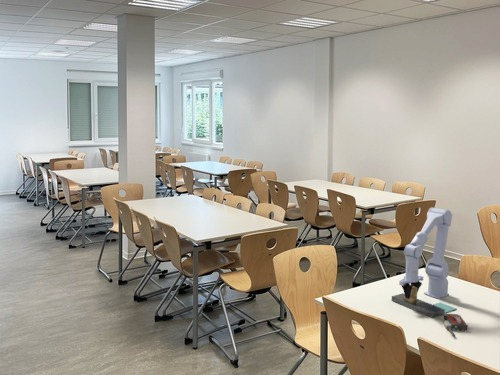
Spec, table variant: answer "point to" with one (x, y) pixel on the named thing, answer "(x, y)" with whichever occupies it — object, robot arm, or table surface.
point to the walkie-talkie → (454, 323)
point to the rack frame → (419, 306)
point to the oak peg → (412, 295)
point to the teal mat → (445, 307)
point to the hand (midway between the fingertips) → (410, 297)
